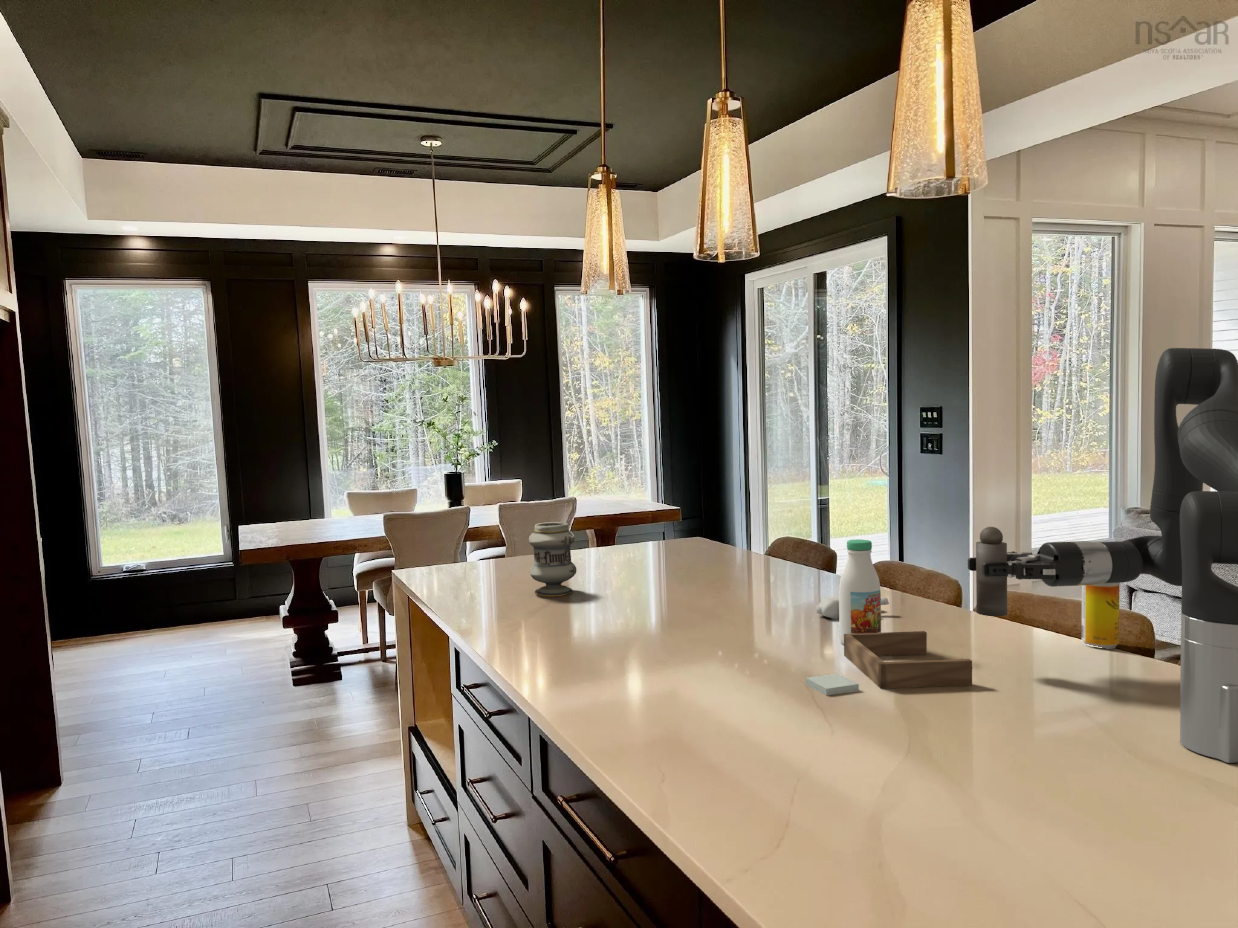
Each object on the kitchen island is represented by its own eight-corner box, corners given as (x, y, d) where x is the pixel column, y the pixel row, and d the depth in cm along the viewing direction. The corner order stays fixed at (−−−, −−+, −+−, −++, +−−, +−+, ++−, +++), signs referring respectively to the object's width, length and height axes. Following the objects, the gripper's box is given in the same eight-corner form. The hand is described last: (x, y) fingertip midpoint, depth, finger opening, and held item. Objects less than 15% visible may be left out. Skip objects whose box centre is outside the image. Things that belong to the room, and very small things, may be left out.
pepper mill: (1012, 615, 141) (1012, 528, 140) (984, 616, 141) (983, 528, 140) (998, 609, 146) (998, 524, 145) (971, 610, 146) (970, 525, 145)
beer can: (1124, 650, 153) (1124, 568, 152) (1087, 649, 154) (1088, 568, 154) (1111, 641, 159) (1112, 562, 158) (1076, 640, 160) (1077, 562, 160)
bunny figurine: (808, 596, 187) (866, 582, 192) (811, 618, 188) (868, 604, 192) (831, 605, 178) (891, 590, 182) (834, 628, 179) (894, 613, 183)
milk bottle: (835, 646, 160) (834, 542, 159) (844, 636, 167) (843, 536, 166) (876, 650, 157) (875, 544, 156) (884, 640, 164) (883, 538, 163)
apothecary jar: (526, 590, 221) (524, 522, 220) (570, 586, 225) (568, 519, 224) (535, 599, 210) (533, 527, 209) (582, 595, 213) (580, 524, 212)
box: (972, 684, 136) (972, 660, 136) (880, 688, 135) (880, 663, 135) (924, 652, 155) (924, 630, 155) (844, 655, 154) (843, 633, 154)
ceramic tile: (858, 693, 135) (858, 683, 135) (826, 698, 133) (826, 688, 133) (837, 682, 140) (837, 673, 140) (805, 687, 138) (805, 677, 138)
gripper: (1050, 535, 150) (956, 539, 150) (1099, 547, 136) (996, 551, 135) (1050, 577, 151) (957, 580, 150) (1099, 593, 136) (996, 597, 136)
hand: (976, 566), depth 143 cm, fingers closed on pepper mill, 4 cm apart
